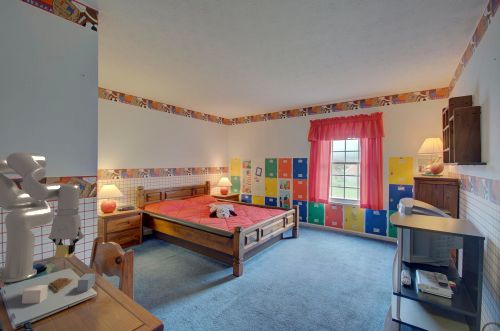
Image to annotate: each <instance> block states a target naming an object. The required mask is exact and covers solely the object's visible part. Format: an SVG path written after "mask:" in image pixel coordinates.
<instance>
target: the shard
mask: <svg viewBox="0 0 500 331" xmlns="http://www.w3.org/2000/svg"><path fill="white" fill-rule="evenodd" d="M73 281H74V280H73V278H70V277H59V278H56V279H55V280H53V281H52V282H49V283H48V286H50V287H52V289H53V291H54V292H56V293H59V292H60V291H61V290H62V289H64V287H66V286H68V285H69V284H71V283H72V282H73Z"/></svg>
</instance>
